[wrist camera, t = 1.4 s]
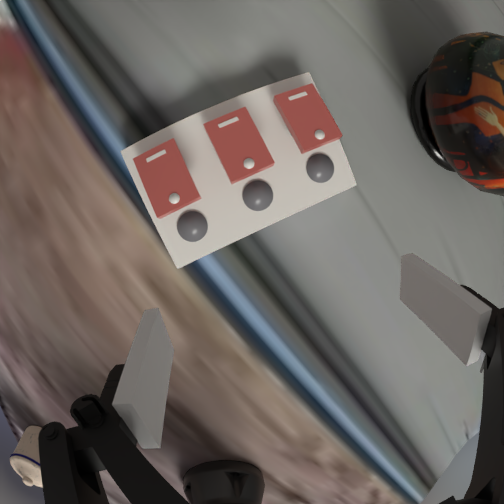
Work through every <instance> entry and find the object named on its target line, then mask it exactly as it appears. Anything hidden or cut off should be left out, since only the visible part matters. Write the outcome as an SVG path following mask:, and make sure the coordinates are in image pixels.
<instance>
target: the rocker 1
mask: <svg viewBox="0 0 504 504" xmlns="http://www.w3.org/2000/svg"><path fill="white" fill-rule="evenodd" d="M133 161H134V163H135V166H136V168H137V171H138V173H139V176H140V178H141V181H142V183H143V186H144V188H145V191H146V193H147V195H148V198H149V200H150V202H151V205H152V207H153V210H154V212H155V214H156V216H157V218H159V219H161V218H163V217H165V216H167V215H169V214H171V213H173V212H175V211H177V210H179V209H181V208H183V207H185V206H187V205H189V204H191V203H193V202H196V201H198V200H200V199H202V198H201V196H200V194H199V192H198V190H197V188H196V185H195V183H194V181H193V179H192V177H191V174H190V172H189V170H188V168H187V166H186V163H185V161H184V159H183V157H182V154H181V152H180V150H179V148H178V146H177V143H176V141H175V140H174V138H172V139H170V140H168V141H166V142H164V143H162V144H160V145H158V146H156V147H154V148H152V149H150V150H148V151H146V152H145V153H143V154H141V155H139V156H137V157H135V158H133Z"/></svg>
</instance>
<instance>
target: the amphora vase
mask: <svg viewBox="0 0 504 504" xmlns="http://www.w3.org/2000/svg"><path fill="white" fill-rule="evenodd" d="M411 112H412V117H413V122H414V126H415V129H416V132H417V134H418V137H419V139H420V142H421V143H422V145H423V147H424V148H425V150H426V152H427V153H428V155H429V156H430V157H431V158H432V159H433V160H434V161H435V162H436V163H437V164H438V165H440V166H441V167H443V168H444V169H446V170H449V171H453V172H457V173H458V175H459V176H460V177H461V178H463V179H464V180H465V181H467V182H468V183H470V184H471V185H473V186H474V187H476V188H477V189H479V190H480V191H483V192H488V193H492V194H496V195H501V196H504V36H501V35H498V34H494V33H490V32H479V33H471V34H464V35H460V36H458V37H456V38H454V39H451V40H449V41H448V42H447V43H446V44H444V45H443V46H442V47H441V48H440V49H439V50H438V51H437V53H436V54H435V56H434V58H433V60H432V62H431V64H430V66H429V68H427V69H425V70H424V71H423V72H422V73H421V74H420V75H418V77H417V79H416V81H415V83H414V85H413V90H412V95H411Z"/></svg>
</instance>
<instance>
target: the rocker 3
mask: <svg viewBox="0 0 504 504" xmlns="http://www.w3.org/2000/svg"><path fill="white" fill-rule="evenodd" d="M273 102H274V104H275V106H276V107H277V109H278V111H279V113H280V115H281V116H282V118H283V120H284V122H285V125H286V127H287V128H288V130H289V132H290V134H291V136H292V137H293V139H294V140H295V142H296V144H297V146H298V148H299V150H300V152H301V154H303V153H306V152H308V151H311V150H313V149H316V148H318V147H321V146H323V145H326V144H328V143H331V142H333V141H336V140H339V139H340V138H341V137H342V136H343V135H342V134H341V132H340V130H339V128H338V126H337V124H336V123H335V121H334V119H333V117H332V116H331V114H330V112H329V110H328V109H327V107H326V105H325V103H324V102H323V100H322V98H321V97H320V95H319V93H318V92H317V90H316V88H315V87H314V85H313V84H312V83H311V84H308V85H305V86H302V87H299V88H296V89H292V90H289V91H287V92H284V93H281V94H278V95H275V96H274V98H273Z"/></svg>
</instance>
